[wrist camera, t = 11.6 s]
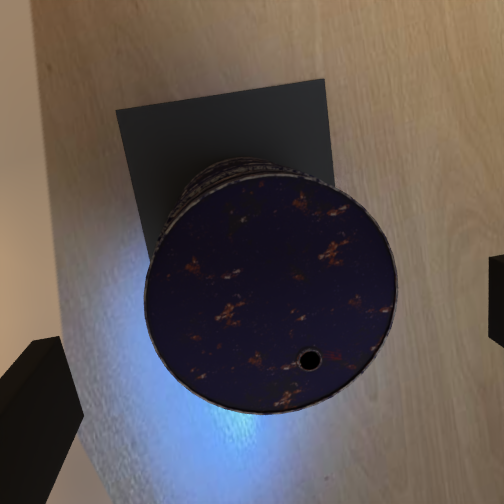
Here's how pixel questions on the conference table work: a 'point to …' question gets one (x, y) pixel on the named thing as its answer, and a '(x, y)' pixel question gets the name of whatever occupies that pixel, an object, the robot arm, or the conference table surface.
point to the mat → (221, 141)
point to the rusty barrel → (268, 288)
